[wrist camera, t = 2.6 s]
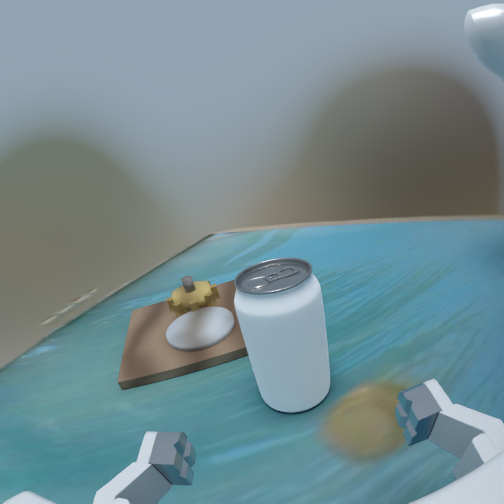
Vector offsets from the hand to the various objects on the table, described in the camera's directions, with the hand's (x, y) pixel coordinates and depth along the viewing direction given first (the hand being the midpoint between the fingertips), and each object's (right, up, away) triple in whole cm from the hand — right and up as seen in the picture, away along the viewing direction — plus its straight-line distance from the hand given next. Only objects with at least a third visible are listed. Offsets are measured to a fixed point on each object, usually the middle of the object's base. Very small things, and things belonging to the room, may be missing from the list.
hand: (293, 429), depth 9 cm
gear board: (-9, -4, +29) cm, 31 cm away
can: (+3, -6, +15) cm, 17 cm away
